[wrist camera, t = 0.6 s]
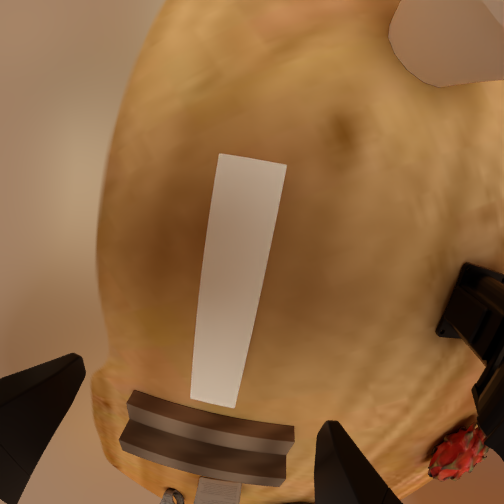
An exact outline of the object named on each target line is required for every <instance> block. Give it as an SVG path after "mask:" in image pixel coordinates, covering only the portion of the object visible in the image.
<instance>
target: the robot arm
mask: <svg viewBox="0 0 504 504" xmlns="http://www.w3.org/2000/svg"><path fill="white" fill-rule="evenodd" d="M467 269H468V270H467ZM441 330H442V331H441ZM436 334H437V335H438V336H439V337H447V338H460V339H463V341H464V342H465V343H466V344H467V345H468V346H469V347H470V349H471V350H472V351H473V352H474V353H475V354H476V356H477V357H478V358H479V359H480V360H481V362H482V363H483V364H484V365H485V366H486V368H485V370H484V371H483V373H482V375H481V376H480V378H479V380H478V381H477V383H475V384H474V386H473V388H472V389H471V391H472V394H473V398H474V402H475V406H476V410H477V414H478V416H477V422H478V424H479V427H480V429H481V430H482V432H483V434H484V436H485V437H486V438H487V439H486V440H485V441H484V445H486V446H488V447H489V448H491V449H493V450H494V451H495V452H496V453H497V454H498V455H499V456H500V457H501V458H502V460H503V461H504V274H502V273H499V272H496V271H493V270H490V269H487V268H484V267H481V266H478V265H475V264H472V263H469V262H466V263H465V264H464V265H463V267H462V270H461V273H460V275H459V278H458V281H457V283H456V286H455V289H454V291H453V294H452V296H451V298H450V301H449V303H448V305H447V308H446V310H445V312H444V314H443V317H442V319H441V321H440V323H439V325H438V327H437V329H436ZM85 375H86V370H85V366H84V363H83V358H82V357H81V356H80V355H77V354H75V353H70V354H67V355H65V356H62V357H59V358H57V359H54V360H51V361H48V362H45V363H43V364H40V365H37V366H34V367H32V368H29V369H26V370H23V371H20V372H17V373H15V374H12V375H9V376H6V377H3V378H1V379H0V499H1V500H2V501H4V502H5V503H7V504H17V503H18V501H19V499H20V497H21V495H22V492H23V491H24V489H25V487H26V485H27V483H28V481H29V479H30V476H31V474H32V473H33V471H34V469H35V467H36V465H37V463H38V461H39V459H40V457H41V456H42V454H43V452H44V450H45V449H46V447H47V445H48V443H49V442H50V440H51V438H52V436H53V435H54V433H55V431H56V430H57V428H58V426H59V425H60V423H61V421H62V420H63V418H64V416H65V415H66V413H67V411H68V410H69V408H70V406H71V405H72V403H73V401H74V399H75V396H76V394H77V392H78V390H79V388H80V386H81V384H82V382H83V380H84V378H85ZM314 487H315V504H403V503H401V501H400V500H399V499H398V497H397V496H396V495H395V494H394V493H393V492H392V490H391V489H390V488H388V485H387V484H386V483H385V482H384V480H383V479H382V478H381V477H380V475H379V474H378V473H377V471H376V470H375V469H374V468H373V466H372V465H371V464H370V462H369V461H368V460H367V459H366V457H365V456H364V455H363V453H362V452H361V451H360V449H359V448H358V447H357V446H356V444H355V443H354V442H353V440H352V439H351V438H350V436H349V435H348V434H347V432H346V431H345V430H344V428H343V427H342V426H341V424H340V423H339V422H338V421H333V420H327V421H326V422H325V423H324V425H323V426H322V428H321V429H320V431H319V432H318V435H317V441H316V455H315V466H314Z"/></svg>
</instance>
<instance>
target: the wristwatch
mask: <svg viewBox="0 0 504 504" xmlns="http://www.w3.org/2000/svg"><path fill="white" fill-rule="evenodd" d="M173 495H174V497H175V499H176V500H177V504H184V498H183V496H182V494H180V493H179V492H178V491H177V490H174V489H167V490H166V491H165V493H164V495H163V499H162V500H161V503H160V504H175V503H174V501H173Z"/></svg>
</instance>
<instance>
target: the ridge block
mask: <svg viewBox="0 0 504 504" xmlns="http://www.w3.org/2000/svg"><path fill="white" fill-rule="evenodd" d="M126 404H127V409H128V413H129V418H130V419H129V421H128V423H127V425H126V427H125V429H124V431H123V433H122V434H121V436H120V438H119V442H120V444H121V447H122V450H123V451H126V452H128V453H131V454H133V455H136V456H138V457H141V458H144V459H147V460H149V461H152V462H155V463H158V464H161V465H165V466H168V467H171V468H175V469H178V470H182V471H185V472H189V473H193V474H197V475H202V476H206V477H211V478H216V479H221V480H226V481H232V482H238V483H245V484H253V485H262V486H273V487H280V485H281V484H282V483H283V482H284V481H285V479H286V455H287V453H288V452H289V450H290V448H291V447H292V445H293V444H294V442H295V441H294V426H285V425H277V424H269V423H262V422H255V421H249V420H243V419H238V418H233V417H228V416H223V415H218V414H214V413H209V412H205V411H201V410H197V409H193V408H189V407H186V406H182V405H179V404H175V403H172V402H169V401H165V400H162V399H159V398H156V397H153V396H150V395H147V394H144V393H141V392H138V391H136V390H134V391H133V393H132V394H131V396H130V398H129V400H128V401H127V403H126Z"/></svg>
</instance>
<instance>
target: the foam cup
mask: <svg viewBox="0 0 504 504" xmlns="http://www.w3.org/2000/svg"><path fill="white" fill-rule="evenodd" d="M388 38H389V41H390V43H391V46H392V48H393V51H394V54H395V55H396V56H397V57H398V59H399V60H400V61H401V63H402V64H403V65H404V66H405V68H406V69H407V70H408V71H409V72H411V73H412V74H413V75H415V76H416V77H417V78H419V79H420V80H421V81H422V82H424V83H427V84H430V85H433V86H436V87H446V86H452V85H459V84H466V83H474V82H484V81H495V80H504V0H401V1H400V3H399V5H398V7H397V9H396V12H395V14H394V16H393V18H392V20H391V23H390V25H389V35H388Z"/></svg>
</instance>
